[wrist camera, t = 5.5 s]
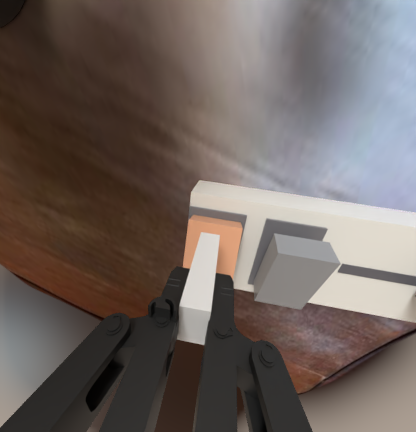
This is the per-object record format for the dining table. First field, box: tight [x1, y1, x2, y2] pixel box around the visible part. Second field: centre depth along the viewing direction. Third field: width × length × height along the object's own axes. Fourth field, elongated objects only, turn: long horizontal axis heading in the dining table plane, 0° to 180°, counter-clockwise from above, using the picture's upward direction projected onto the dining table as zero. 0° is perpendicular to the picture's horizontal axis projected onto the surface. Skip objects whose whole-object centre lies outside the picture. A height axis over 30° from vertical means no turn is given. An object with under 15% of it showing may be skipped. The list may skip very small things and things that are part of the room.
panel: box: [188, 180, 416, 323], centre depth 22 cm, size 30×12×5 cm, turn 83°
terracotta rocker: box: [183, 215, 243, 280], centre depth 19 cm, size 5×8×2 cm, turn 173°
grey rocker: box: [253, 233, 341, 310], centre depth 18 cm, size 5×8×2 cm, turn 173°
